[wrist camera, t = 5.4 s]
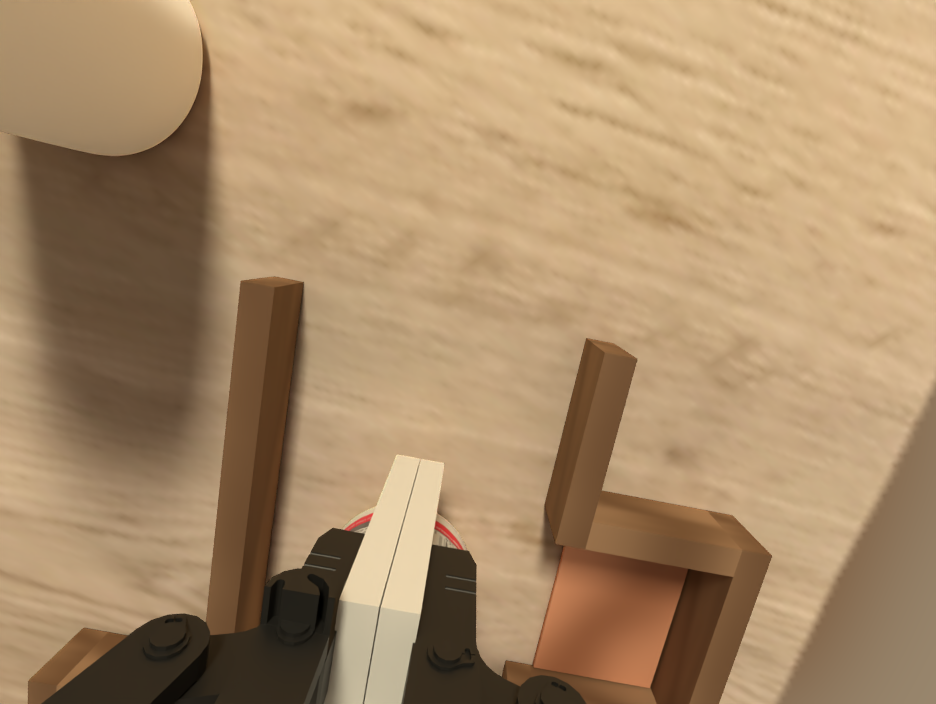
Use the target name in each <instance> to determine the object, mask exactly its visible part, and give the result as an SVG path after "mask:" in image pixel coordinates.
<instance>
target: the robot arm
mask: <svg viewBox="0 0 936 704" xmlns="http://www.w3.org/2000/svg"><path fill="white" fill-rule="evenodd" d="M419 463H420V465H419ZM444 464H445V463H441V462H436V461H431V460H425V459H421V461H420V458H414V457H409V456H403V455H398V454H397V455H396V458H395V460H394V463H393V465H392V468H391V470H390V473H389V475H388V478H387V480H386V483H385V485H384V488H383V490H382V493H381V495H380V498H379V500H378V503H377V506H376V508H375V511H374V513H373V516H372V518H371V521H370V523H369V526H368V528H367V531H366V533H365V534H364V533H358V532H353V531H347V530H341V529H336V528H332V529H330V530H329V531H328V532H326V533H325V534H323V535H322V536H321V537H319V538H318V540H317V541H316V543H315V545H314V547H313V549H312V551H311V553H310V554H309V556H308V558H307V560H306V561H305V564H304V566H303V567H302V569H293V570H288V571H284V572H282V573H280V574H278V575H276V576H274V577H272V579H271V580H270V581H269V582H268V583H267V584H266V585H265V586H264V594H263V603H262V612H261V621H260V625H259V626H258V627H256V628H253V629H250V630H247V631H243V632H237V633H229V634H218V635H210V630H209V628H208V626H207V623H206V622H204V621H203V620H202V619H200V618H199V617H197V616H193V615H188V614H172V615H166V616H163V617H160V618H156V619H153V620H151V621H149V622H147V623H146V624H144V625H142V626H141V627H139V628H137V629H136V630H135V631H133V632H132V633H131V634H130V635H128V636H127V637H126V638H124V639H123V640H122V641H121V642H119V643H118V644H117V645H116V646H114V647H113V648H112V649H110V650H109V651H108V652H107V653H105V654H104V655H103V656H101V657H100V658H99V659H98V660H96V661H95V662H94V663H93V664H91V665H90V666H89V667H87V668H86V669H85V670H84V671H82V672H81V673H80V674H78V675H77V676H76V677H75V678H73V679H72V680H71V681H69V682H68V683H67V684H66V685H64V686H63V687H62V688H61V689H59V690H58V691H57V692H55V693H54V694H53V695H52V696H50V697H49V698H48V699H46V700H45V701H44V702H43V703H41V704H586V702H585V701H584V699H583V698H582V696H581V695H580V693H579V692H578V691H576V690H575V689H574V688H573V687H572V686H571V685H569V684H568V683H566V682H564V681H562V680H560V679H558V678H556V677H552V676H545V675H539V676H534V677H530V678H529V679H527V680H526V681H525V682H524V683H523V684H522V685H521V687H520V686H518V685H516V684H514V683H512V682H510V681H508V680H506V679H504V678H502V677H501V676H499V675H497V674H496V673H494V672H493V671H492V670H491V669H490V668H489V667H488V666H487V665H486V664H485V663H484V661H483V660H482V659H481V657H480V655H479V651H478V650H477V645H476V563H475V562H474V560H473V558H472V556H471V554H470V553H469V551H466V550H461V549H455V548H449V547H444V546H438V545H433V544H432V540H433V533H434V527H435V521H436V514H437V508H438V502H439V495H440V489H441V483H442V476H443V470H444Z"/></svg>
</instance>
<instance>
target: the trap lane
mask: <svg viewBox="0 0 936 704" xmlns="http://www.w3.org/2000/svg"><path fill="white" fill-rule="evenodd" d="M303 283H304V282H300V281H295V280H290V279H285V278H280V277H267V278H259V279H251V280H243V281H241V284H240V294H239V303H238V313H237V323H236V333H235V343H234V352H233V362H232V372H231V382H230V391H229V401H228V411H227V421H226V431H225V440H224V450H223V460H222V470H221V480H220V489H219V499H218V509H217V519H216V529H215V538H214V548H213V558H212V568H211V578H210V587H209V597H208V607H207V617H206V623H207V626H208V628H209V630H210V635H218V634H229V633H237V632H243V631H247V630H250V629H253V628H256V627H258V626H259V625H260V619H261V611H262V603H263V594H264V586H265V580H266V572H267V564H268V556H269V548H270V540H271V533H272V525H273V517H274V509H275V501H276V494H277V486H278V478H279V470H280V462H281V454H282V447H283V439H284V431H285V423H286V415H287V408H288V400H289V392H290V384H291V376H292V368H293V361H294V353H295V345H296V337H297V329H298V322H299V314H300V306H301V298H302V290H303ZM636 362H637V358H635V357H634V356H632V355H631V354H629V353H628V352H626V351H625V350H623V349H621V348H620V347H618V346H617V345H615V344H613V343H608V342H603V341H598V340H593V339H588V338H586V342H585V346H584V350H583V354H582V358H581V362H580V366H579V370H578V374H577V378H576V382H575V386H574V390H573V394H572V398H571V402H570V406H569V410H568V414H567V418H566V422H565V426H564V430H563V434H562V438H561V442H560V446H559V450H558V454H557V458H556V462H555V466H554V470H553V474H552V478H551V482H550V486H549V490H548V494H547V498H546V502H545V508H546V512H547V515H548V519H549V523H550V526H551V530H552V533H553V537H554V541H555V544H558V545H564V547H563V551H562V555H561V559H560V563H559V566H558V570H557V574H556V578H555V582H554V585H553V589H552V593H551V597H550V601H549V604H548V608H547V612H546V616H545V619H544V623H543V627H542V631H541V635H540V638H539V642H538V646H537V650H536V654H535V657H534V661H533V665H528V664H522V663H517V662H511V661H506V662H505V666H504V670H503V674H502V678H504V679H506V680H508V681H510V682H512V683H514V684H516V685H518V686H520V687H521V685H522V684H523V683H524V682H525V681H526V680H527V679H529V678H530V677H534V676H539V675H545V676H552V677H556V678H558V679H560V680H562V681H564V682H566V683H568V684H569V685H571V686H572V687H573V688H574V689H575V690H576V691H578V692H579V693H580V695H581V696H582V698H583V699H584V701H585V702H586V704H719V702H720V699H721V696H722V693H723V691H724V688H725V685H726V682H727V680H728V677H729V674H730V671H731V668H732V666H733V663H734V660H735V657H736V655H737V652H738V649H739V646H740V644H741V641H742V638H743V635H744V632H745V630H746V627H747V624H748V621H749V619H750V616H751V613H752V610H753V608H754V605H755V602H756V599H757V597H758V594H759V591H760V588H761V585H762V583H763V580H764V577H765V574H766V572H767V569H768V566H769V563H770V561H771V558H772V555H771V554H770V553H769V552H768V551H767V550H766V549H765V548H764V547H763V546H762V545H761V544H760V543H759V542H758V541H757V540H756V539H755V538H754V537H753V536H752V535H751V534H750V533H749V532H748V531H747V530H746V529H745V528H744V527H743V526H742V525H741V524H740V523H739V522H738V521H737V519H736V518H735V517H734V516H732V515H727V514H722V513H717V512H711V511H706V510H701V509H696V508H690V507H685V506H680V505H674V504H669V503H664V502H659V501H653V500H648V499H643V498H638V497H632V496H627V495H622V494H617V493H611V492H606V491H601V490H602V487H603V483H604V479H605V476H606V472H607V468H608V465H609V461H610V457H611V454H612V450H613V446H614V443H615V439H616V435H617V432H618V428H619V424H620V421H621V417H622V414H623V410H624V406H625V403H626V399H627V395H628V392H629V388H630V384H631V381H632V377H633V373H634V370H635V366H636ZM126 637H127V635H121V634H116V633H110V632H104V631H99V630H93V629H88V628H83V629H82V630H81V631H80V632H79V633H78V634H77V635H75V636H74V637H73V638H72V639H71V640H70V641H69V642H68V643H67V644H66V645H65V646H64V647H63V648H62V649H61V650H60V651H59V652H58V653H57V654H56V655H55V656H54V657H53V658H52V659H50V660H49V661H48V662H47V663H46V664H45V665H44V666H43V667H42V668H41V669H40V670H39V671H38V672H37V673H36V674H35V675H34V676H33V677H32V678H31V679H30V680H29V681H28V704H41V703H43V702H44V701H45V700H46V699H48V698H49V697H50V696H52V695H53V694H54V693H55V692H57V691H58V690H59V689H61V688H62V687H63V686H64V685H66V684H67V683H68V682H69V681H71V680H72V679H73V678H75V677H76V676H77V675H78V674H80V673H81V672H82V671H84V670H85V669H86V668H87V667H89V666H90V665H91V664H93V663H94V662H95V661H96V660H98V659H99V658H100V657H101V656H103V655H104V654H105V653H107V652H108V651H109V650H110V649H112V648H113V647H114V646H116V645H117V644H118V643H119V642H121V641H122V640H123V639H124V638H126Z"/></svg>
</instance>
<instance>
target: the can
mask: <svg viewBox="0 0 936 704" xmlns="http://www.w3.org/2000/svg"><path fill="white" fill-rule="evenodd" d="M202 64H203V50H202V38H201V31H200V27H199V23H198V20H197V17H196V14H195V12H194V9H193V7H192V5H191V3H190V1H189V0H0V132H4V133H8V134H12V135H16V136H20V137H24V138H28V139H32V140H36V141H40V142H44V143H48V144H52V145H57V146H61V147H65V148H69V149H73V150H77V151H82V152H86V153H91V154H97V155H104V156H123V155H130V154H135V153H139V152H142V151H145V150H147V149H150V148H152V147H154V146H156V145H157V144H159V143H161V142H162V141H164V140H165V139H166V138H168V137H169V136H170V135H171V134H172V133H173V132H174V131H175V130H176V129H177V128H178V127H179V126H180V125H181V123H182V122H183V121H184V119H185V118H186V116H187V115H188V113H189V111H190V109H191V107H192V105H193V103H194V101H195V98H196V96H197V93H198V89H199V85H200V81H201V75H202Z"/></svg>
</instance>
